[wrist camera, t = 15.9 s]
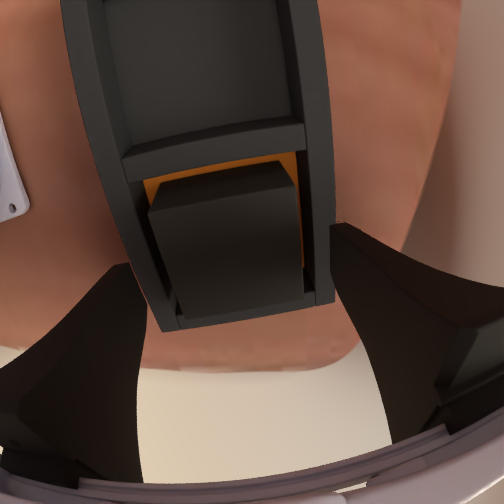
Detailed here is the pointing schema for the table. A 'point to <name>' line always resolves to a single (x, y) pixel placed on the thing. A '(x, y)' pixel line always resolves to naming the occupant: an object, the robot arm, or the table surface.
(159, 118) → the socket pad
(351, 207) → the table surface
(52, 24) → the table surface
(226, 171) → the black pad
